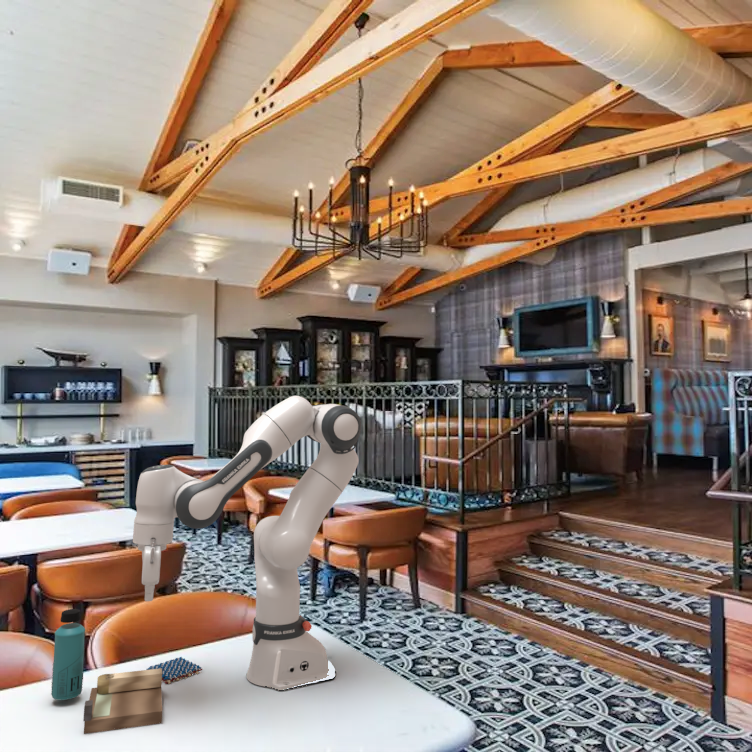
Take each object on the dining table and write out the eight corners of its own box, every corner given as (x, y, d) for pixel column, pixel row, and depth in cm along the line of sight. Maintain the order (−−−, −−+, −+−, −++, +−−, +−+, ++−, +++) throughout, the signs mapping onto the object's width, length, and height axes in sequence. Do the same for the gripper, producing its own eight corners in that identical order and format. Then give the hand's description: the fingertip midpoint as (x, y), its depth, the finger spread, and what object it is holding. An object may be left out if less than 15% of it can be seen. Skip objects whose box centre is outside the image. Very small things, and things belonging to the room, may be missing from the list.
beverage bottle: (69, 709, 135) (74, 616, 136) (42, 705, 136) (48, 613, 138) (88, 696, 142) (93, 607, 143) (63, 692, 143) (68, 605, 144)
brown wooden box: (160, 691, 145) (161, 667, 145) (161, 723, 130) (163, 696, 130) (90, 699, 140) (91, 674, 140) (82, 734, 125) (84, 706, 125)
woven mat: (204, 674, 156) (204, 666, 156) (166, 687, 148) (167, 678, 148) (181, 662, 163) (181, 654, 163) (144, 675, 155) (144, 666, 155)
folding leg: (96, 694, 136) (96, 680, 136) (97, 688, 139) (98, 674, 140) (161, 687, 141) (162, 673, 141) (161, 681, 144) (161, 667, 144)
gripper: (168, 543, 135) (163, 607, 134) (166, 526, 155) (162, 582, 154) (137, 543, 133) (132, 608, 132) (139, 527, 152) (135, 583, 151)
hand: (148, 594), depth 143 cm, fingers open, 8 cm apart
